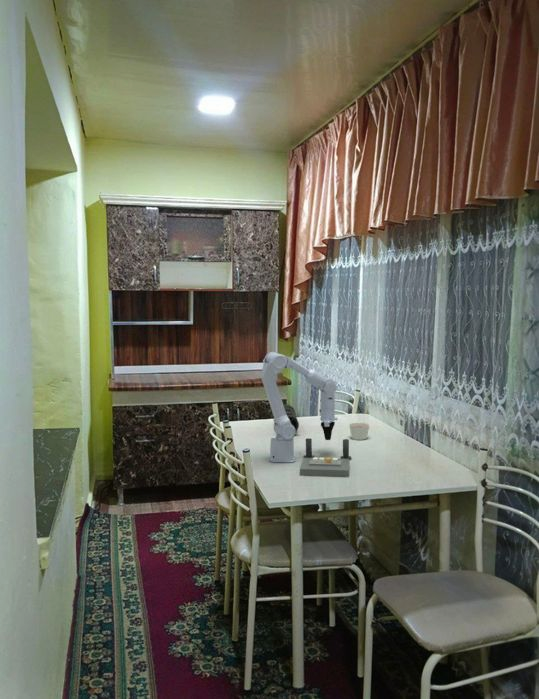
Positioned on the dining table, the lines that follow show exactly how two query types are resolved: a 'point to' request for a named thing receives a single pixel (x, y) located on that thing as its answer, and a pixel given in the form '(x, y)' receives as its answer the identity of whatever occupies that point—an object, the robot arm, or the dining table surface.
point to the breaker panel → (325, 467)
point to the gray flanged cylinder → (308, 448)
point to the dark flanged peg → (345, 450)
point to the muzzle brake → (291, 415)
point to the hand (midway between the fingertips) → (327, 439)
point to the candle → (359, 430)
